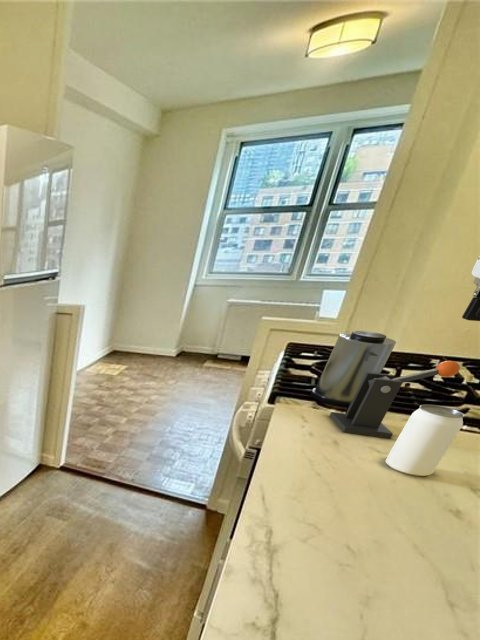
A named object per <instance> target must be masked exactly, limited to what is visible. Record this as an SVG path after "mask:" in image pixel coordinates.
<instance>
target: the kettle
mask: <svg viewBox="0 0 480 640" xmlns="http://www.w3.org/2000/svg"><path fill="white" fill-rule="evenodd" d="M396 344H397V341H396V340H394V339H391V338H389V337H387V335H386V334H383V333H379V332H375V331H367V330H354V331H352V332H342V333H340V334H339V335H338V337H337V340H336V342H335V344H334V346H333V349H332V351H331V352H330V355H329V357H328V360H327V362H326V364H325V366H324V369H323V371H322V373H321V375H320V378H319V379H318V382H317V384H316V386H315V387H314V388H312V389H311V392H310V394H309V395H310V397H311V398H312V399H314V400H316V401H319V402H321V403H323V404H327V405H331V406H335V407H340V408H347V409H348V408H349V406H350V404H351V402H352V400H353V398H354V396H355V394H356V392H357V390H358V388H359V386H360V384H361V382H362V380H363V377H364V375H365V373H366V372H371V373H381V374H382V373H383V369H384V368H385V366H386V363H387V362H388V359H389V357H390V356H391V353H392V352H393V350H394V348H395V346H396Z"/></svg>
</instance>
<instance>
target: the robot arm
mask: <svg viewBox="0 0 480 640" xmlns="http://www.w3.org/2000/svg"><path fill="white" fill-rule="evenodd" d="M471 275H472V276H473V277H474V279H473V284H474V285H475V286H476V287H475V290H474V291H473V294H472V299H471V300H470V302H469V304H468V305H467V307H466V309H465V310H464V313H463V314H462V317H461V318H462V319H463V320H466V321H471V322H480V255H479V256H478V257H477V260H476V261H475V264H474V266H473V268H472V270H471Z"/></svg>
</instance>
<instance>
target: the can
mask: <svg viewBox="0 0 480 640" xmlns="http://www.w3.org/2000/svg"><path fill="white" fill-rule="evenodd" d="M464 417H466V416H465V413H463V412H461V411H459V410H457V409H454V408H451V407H448V406H443V405H437V404H421V405H419V408H418V409H416V410H414V411H413V412H412V413H411V415H410V416H409V418H408V420H407V421H406V423H405V425H404V427H403V428H402V430H401V432H400V434H399V435H398V437H397V439H396V440H395V443H393V446H392V448H391V450H390V452H388V455H387V457H386V459H385V463H386V465H387V466H388V467H389V468H391V469H392V470H394V471H396V472H399V473H402V474H405V475H409V476H415V477H428V476H431V475H433V473H434V472H435V470H436V468H437V467H438V466H439V464H440V462H442V459H443V458H444V457H445V454H446V453H447V452H448V450H449V448H450V447H451V445H452V443H453V442H454V441H455V439H456V437H457V435H458V434H459V432H460V430H461V429H462V428H463V426H464V421H463V418H464Z"/></svg>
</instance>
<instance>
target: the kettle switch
mask: <svg viewBox="0 0 480 640" xmlns="http://www.w3.org/2000/svg"><path fill="white" fill-rule="evenodd" d="M460 370H461V365H460V364H459V363H458V362H456V361H454V360H445V361H441V362H440V363H438V364H437V365H436V367H435V368H432V369H427V370H423V371H420V372H415V373H411V374H407V375H403V376H398V377H394V378H393V379H389V378H388V377H386V376H384V377H380V379H389V380H399V381H402V382H403V383H402V384H405V383H407V382H412V381H417V380H421V379H425V378H429V377H434V376H440V377H442V378H443V377H444V378H449V377H453V376H455V375H457V374H458V373H459V372H460ZM372 381H373V379H372V380H368V382H369V387H370V385H371V383H372Z"/></svg>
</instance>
